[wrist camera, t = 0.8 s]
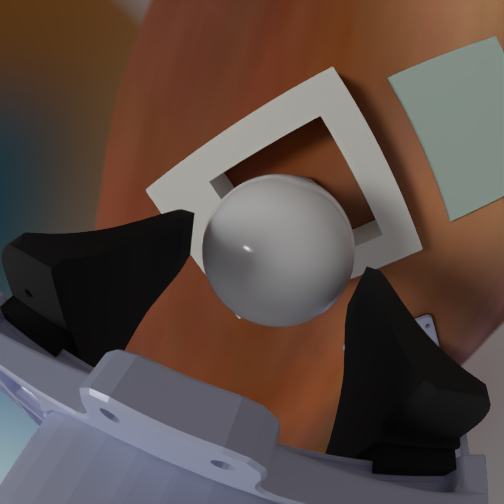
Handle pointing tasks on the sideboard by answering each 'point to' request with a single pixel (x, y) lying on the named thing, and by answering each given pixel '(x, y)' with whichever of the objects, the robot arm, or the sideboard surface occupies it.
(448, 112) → the mat
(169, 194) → the bulb holder
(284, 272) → the lightbulb
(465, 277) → the sideboard surface
